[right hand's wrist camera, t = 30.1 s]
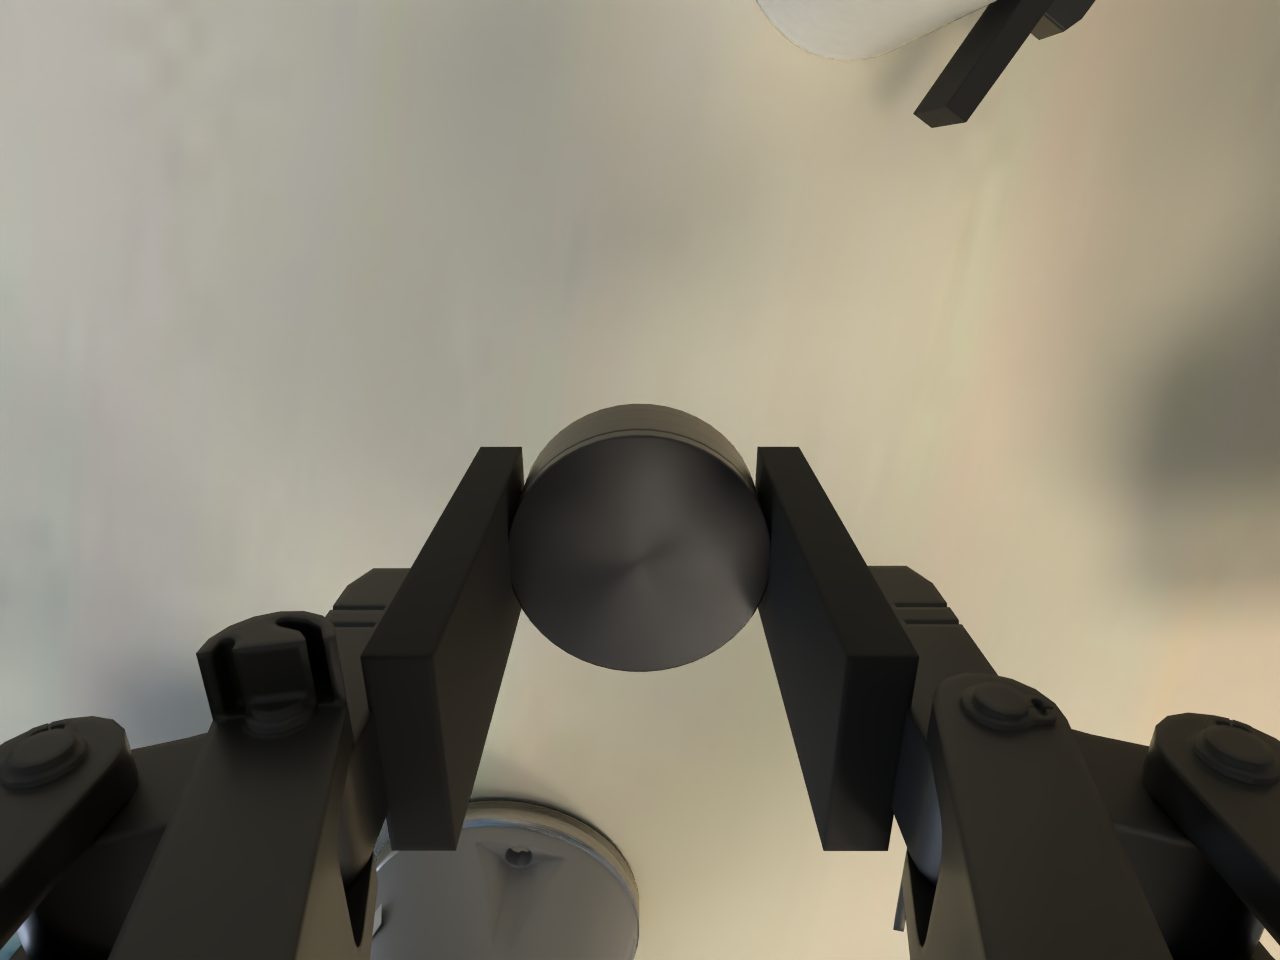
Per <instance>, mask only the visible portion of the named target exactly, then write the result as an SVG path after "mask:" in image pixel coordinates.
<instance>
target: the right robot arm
mask: <svg viewBox="0 0 1280 960" xmlns="http://www.w3.org/2000/svg"><path fill="white" fill-rule="evenodd" d="M523 488H524V475H523V458H522V447H480V449H479V451H478V452H477V454H476V456H475V458H474V459H473V461H472V463H471V465H470V466H469V468H468V470H467V472H466V473H465V475H464V477H463V478H462V480H461V482H460V484H459V485H458V487H457V489H456V491H455V492H454V494H453V496H452V498H451V499H450V501H449V503H448V505H447V506H446V508H445V510H444V511H443V513H442V515H441V517H440V518H439V520H438V522H437V524H436V525H435V527H434V529H433V531H432V532H431V534H430V536H429V538H428V539H427V541H426V543H425V544H424V546H423V548H422V550H421V551H420V553H419V555H418V557H417V558H416V560H415V562H414V564H413V565H412V567H411V568H373V569H372V570H370V571H369V572H367V573H366V574H364V575H363V576H361V577H360V578H358V579H357V580H355V581H354V582H352V583H351V584H349V585H348V586H347V587H346V588H345V590H344V591H343V593H342V594H341V595H340V597H339V598H338V600H337V601H336V603H335V604H334V605H333V610H330V611H329V612H328V614H327V615H326V617H324V616H322V615H318V614H314V613H310V612H305V611H280V612H275V613H270V614H265V615H260V616H255V617H252V618H249V619H247V620H244V621H242V622H239V623H236V624H234V625H231V626H229V627H227V628H226V629H224V630H222V631H221V632H219V633H218V634H216V635H214V636H213V637H211V638H210V639H208V640H207V642H206V643H205V644H204V645H203V646H202V647H201V648H200V650H199V651H198V652H197V653H196V655H197V659H198V663H199V667H200V671H201V675H202V679H203V682H204V686H205V690H206V694H207V698H208V702H209V706H210V710H211V714H212V717H213V722H212V724H211V727H210V729H209V731H208V733H204V734H201V735H197V736H193V737H190V738H185V739H180V740H176V741H171V742H166V743H161V744H157V745H152V746H147V747H142V748H137V749H133V750H131V748H130V745H129V742H128V739H127V736H126V732H125V729H124V728H123V727H121V726H120V725H119V724H118V723H117V722H115V721H114V720H112V719H106V718H101V717H95V716H89V717H80V718H70V719H64V720H59V721H55V722H51V723H50V724H48V723H47V724H44V725H41V726H38V727H35V728H33V729H31V730H29V731H27V732H25V733H23V734H21V735H19V736H17V737H15V738H13V739H10V740H8V741H6V742H4V743H3V744H1V745H0V960H633V959H634V956H635V953H636V949H637V946H638V938H639V898H638V891H637V886H636V883H635V879H634V877H633V875H632V872H631V870H630V868H629V867H628V865H627V863H626V861H625V860H624V859H623V857H622V856H621V855H620V853H619V852H618V851H617V850H616V849H615V848H614V846H613V845H612V844H611V843H610V842H609V841H607V840H606V839H605V838H604V837H603V836H602V835H600V834H599V833H598V832H596V831H595V830H594V829H592V828H591V827H589V826H587V825H586V824H584V823H582V822H581V821H579V820H577V819H575V818H573V817H571V816H569V815H566V814H564V813H561V812H558V811H556V810H553V809H549V808H546V807H543V806H538V805H534V804H529V803H522V802H515V801H501V800H499V801H476V802H469V800H470V797H471V793H472V789H473V786H474V782H475V778H476V774H477V771H478V767H479V763H480V760H481V756H482V752H483V749H484V745H485V741H486V737H487V734H488V730H489V726H490V723H491V719H492V715H493V711H494V708H495V704H496V700H497V697H498V693H499V689H500V686H501V682H502V678H503V674H504V671H505V667H506V663H507V660H508V656H509V652H510V649H511V645H512V641H513V637H514V634H515V630H516V626H517V623H518V619H519V615H520V611H521V608H522V607H521V606H520V604H519V602H518V600H517V598H516V596H515V593H514V590H513V588H512V582H511V568H510V555H509V539H508V533H509V529H510V525H511V521H512V518H513V515H514V512H515V510H516V507H517V504H518V502H519V499H520V496H521V493H522V491H523ZM755 488H756V491H757V494H758V496H759V499H760V502H761V505H762V508H763V510H764V513H765V516H766V519H767V521H768V524H769V529H770V534H771V548H770V563H769V576H768V585H767V588H766V591H765V593H764V596H763V598H762V600H761V602H760V604H759V606H758V610H759V613H760V617H761V621H762V624H763V628H764V632H765V636H766V639H767V643H768V647H769V650H770V654H771V658H772V661H773V665H774V669H775V673H776V676H777V680H778V684H779V687H780V691H781V695H782V698H783V702H784V706H785V710H786V713H787V717H788V721H789V724H790V728H791V732H792V736H793V739H794V743H795V747H796V750H797V754H798V758H799V761H800V765H801V769H802V773H803V776H804V780H805V784H806V787H807V791H808V795H809V799H810V802H811V806H812V810H813V813H814V817H815V821H816V824H817V828H818V832H819V836H820V839H821V843H822V847H823V850H824V851H888V847H889V841H890V834H891V828H892V822H893V816H894V815H895V818H896V820H897V823H898V825H899V828H900V830H901V833H902V835H903V838H904V841H905V843H906V846H907V852H906V857H905V863H904V869H903V875H902V880H901V886H900V892H899V897H898V903H897V909H896V915H895V922H894V929H893V930H898V931H903V932H904V926H905V921H906V924H907V933H908V942H909V952H910V960H1275V959H1274V958H1273V957H1272V956H1271V955H1270V954H1269V952H1268V951H1267V950H1266V949H1265V948H1264V946H1263V945H1262V944H1261V943H1260V941H1259V939H1260V937H1261V935H1262V933H1263V930H1264V928H1265V929H1266V930H1267V931H1268V932H1269V933H1270V935H1271V936H1272V937H1273V938H1274V939H1275V940H1276V942H1277V943H1278V944H1279V945H1280V741H1279V740H1277V739H1276V738H1274V737H1271V736H1269V735H1267V734H1265V733H1263V732H1261V731H1259V730H1257V729H1254V728H1252V727H1251V726H1249V725H1247V724H1244V723H1241V722H1238V721H1235V720H1233V721H1232V720H1229V718H1224V717H1219V716H1215V715H1206V714H1196V713H1183V714H1177V715H1171V716H1167V717H1166V718H1165V719H1163V720H1162V721H1161V722H1160V723H1158V724H1157V725H1156V727H1155V730H1154V733H1153V737H1152V740H1151V743H1150V746H1144V745H1140V744H1135V743H1130V742H1125V741H1120V740H1115V739H1111V738H1106V737H1101V736H1096V735H1091V734H1088V733H1084V732H1080V731H1077V730H1073V729H1071V727H1070V725H1069V723H1068V721H1067V719H1066V717H1065V716H1064V715H1063V713H1062V712H1061V711H1060V709H1059V708H1058V707H1057V705H1056V704H1055V703H1054V702H1052V701H1051V700H1050V699H1048V698H1047V697H1045V696H1044V695H1043V694H1041V693H1040V692H1039V691H1037V690H1036V689H1034V688H1031V687H1029V686H1027V685H1024V684H1022V683H1020V682H1018V681H1015V680H1013V679H1010V678H1005V677H1001V676H998V675H997V673H996V672H995V671H994V669H993V668H992V666H991V665H990V663H989V662H988V661H987V659H986V658H985V656H984V655H983V654H982V652H981V651H980V649H979V648H978V647H977V645H976V644H975V642H974V641H973V640H972V638H971V637H970V635H969V634H968V632H967V631H966V630H965V628H964V627H963V625H962V624H959V620H958V618H957V617H956V616H955V614H954V613H953V611H952V610H951V609H950V607H947V603H946V601H945V600H944V599H943V597H942V596H941V594H940V593H939V592H938V590H937V589H936V587H935V586H934V585H933V583H931V582H930V581H928V580H927V579H925V578H924V577H922V576H921V575H919V574H918V573H916V572H915V571H913V570H912V569H910V568H909V567H907V566H867V565H866V563H865V561H864V559H863V558H862V556H861V554H860V552H859V551H858V549H857V547H856V545H855V544H854V542H853V540H852V538H851V537H850V535H849V533H848V532H847V530H846V528H845V526H844V525H843V523H842V521H841V519H840V518H839V516H838V514H837V512H836V511H835V509H834V507H833V505H832V504H831V502H830V500H829V499H828V497H827V495H826V493H825V492H824V490H823V488H822V486H821V485H820V483H819V481H818V479H817V478H816V476H815V474H814V472H813V471H812V469H811V467H810V465H809V464H808V462H807V460H806V459H805V457H804V455H803V453H802V452H801V450H800V448H799V447H758V450H757V466H756V483H755ZM385 818H386V819H387V825H388V831H389V838H390V841H389V842H388V843H387V844H386V845H385V847H384V848H383V849H382V851H381V852H380V854H379V855H378V857H377V859H376V861H375V857H374V852H373V848H374V846H375V843H376V841H377V838H378V836H379V833H380V830H381V828H382V825H383V823H384V820H385Z"/></svg>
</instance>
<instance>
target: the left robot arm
mask: <svg viewBox="0 0 1280 960" xmlns="http://www.w3.org/2000/svg"><path fill="white" fill-rule="evenodd" d="M1094 1H1095V0H996V1H994V2H992V3H990V4H989V6H988V7H987V8H986V10H985V11H984V13H983V14H982V16H981V17H980V18H979V20H978V21H977V23H976V24H975V26H974V27H973V28H972V30H971V31H970V33H969V34H968V36H967V37H966V39H965V40H964V41H963V43H962V44H961V46H960V47H959V49H958V50H957V51H956V53H955V54H954V56H953V57H952V59H951V60H950V62H949V63H948V64H947V66H946V67H945V69H944V70H943V72H942V73H941V74H940V76H939V77H938V79H937V80H936V82H935V83H934V85H933V86H932V87H931V89H930V90H929V92H928V93H927V95H926V96H925V97H924V99H923V100H922V102H921V103H920V105H919V106H918V107H917V109H916V110H915V112H914V113H913V114H914V115H916V116H917V117H918V118H920V119H921V120H922V121H923V122H925V123H926V124H927V125H929V126H930V127H931V128H934V127H940V126H946V125H952V124H958V123H964V122H967V120H968V119H969V117H970V116H971V115H972V113H973V112H974V110H975V109H976V108H977V106H978V105H979V104H980V102H981V101H982V99H983V98H984V97H985V95H986V94H987V92H988V91H989V90H990V88H991V87H992V86H993V84H994V83H995V81H996V80H997V79H998V77H999V76H1000V74H1001V73H1002V72H1003V70H1004V69H1005V68H1006V66H1007V65H1008V63H1009V62H1010V61H1011V59H1012V58H1013V56H1014V55H1015V54H1016V52H1017V51H1018V50H1019V48H1020V47H1021V45H1022V44H1023V43H1024V41H1025V40H1026V38H1027V37H1028V36H1029V34H1030V33H1031V34H1033V35H1034V36H1035V37H1036V38H1037V39H1039V40H1040V39H1043V38H1046V37H1049V36H1052V35H1055V34H1058V33H1061V32H1064V31H1065V30H1067V29H1068V28H1069V27H1071V26H1072V25H1074V24H1075V23H1076V22H1078V21H1079V20H1081V19H1082V18H1083V16H1084V15H1085V14H1086V12H1087V11H1088V10H1089V8H1090V7H1091V6H1092V4H1093V3H1094Z"/></svg>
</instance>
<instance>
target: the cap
mask: <svg viewBox="0 0 1280 960" xmlns="http://www.w3.org/2000/svg"><path fill="white" fill-rule="evenodd" d="M508 539H509V555H510V568H511V582H512V588H513V590H514V593H515V596H516V598H517V600H518V602H519V604H520V606H521V607H522V609H523V611H524V612H525V614H526V615H527V617H528V618H529V619H530V621H531V622H532V623H533V625H534V626H535V627H536V628H537V629H538V630H539V631H540V632H541V633H542V634H543V635H544V636H545V637H546V638H548V639H549V640H550V641H551V642H552V643H553V644H555V645H556V646H558V647H559V648H561V649H562V650H564V651H565V652H567V653H569V654H571V655H573V656H575V657H577V658H579V659H581V660H583V661H586V662H588V663H591V664H594V665H597V666H601V667H605V668H609V669H613V670H621V671H631V672H648V671H659V670H665V669H670V668H675V667H679V666H682V665H685V664H688V663H691V662H694V661H696V660H698V659H700V658H703V657H705V656H707V655H709V654H710V653H712V652H714V651H715V650H717V649H719V648H720V647H722V646H723V645H724V644H725V643H727V642H728V641H729V640H731V639H732V638H733V637H734V636H735V635H736V634H737V633H738V632H739V631H740V630H741V629H742V628H743V627H744V626H745V625H746V623H747V622H748V621H749V619H750V618H751V617H752V616H753V614H754V613H755V611H756V609H757V607H758V606H759V604H760V602H761V600H762V598H763V596H764V593H765V591H766V588H767V585H768V576H769V563H770V548H771V534H770V529H769V524H768V521H767V519H766V516H765V513H764V510H763V508H762V505H761V502H760V499H759V496H758V494H757V491H756V488H755V485H754V483H753V480H752V477H751V474H750V472H749V470H748V468H747V466H746V464H745V462H744V460H743V458H742V457H741V455H740V454H739V453H738V451H737V450H736V449H735V447H734V446H733V445H732V444H731V443H730V442H729V441H728V440H727V439H726V438H725V437H724V436H723V435H722V434H721V433H720V432H719V431H717V430H716V429H715V428H713V427H712V426H711V425H709V424H708V423H706V422H704V421H702V420H701V419H699V418H697V417H695V416H693V415H691V414H688V413H686V412H683V411H681V410H677V409H673V408H670V407H666V406H659V405H652V404H628V405H619V406H614V407H610V408H605V409H601V410H599V411H596V412H594V413H591V414H588V415H586V416H584V417H582V418H580V419H578V420H577V421H575V422H573V423H571V424H570V425H569V426H567V427H566V428H565V429H563V430H562V431H560V432H559V433H558V434H557V435H556V436H555V437H554V438H553V439H552V440H551V441H550V442H549V443H548V444H547V445H546V447H545V448H544V449H543V450H542V452H541V453H540V454H539V456H538V457H537V459H536V461H535V463H534V464H533V466H532V468H531V470H530V473H529V475H528V478H527V480H526V483H525V485H524V488H523V491H522V493H521V496H520V499H519V502H518V504H517V507H516V510H515V512H514V515H513V518H512V521H511V525H510V529H509V533H508Z"/></svg>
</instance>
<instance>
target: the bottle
mask: <svg viewBox="0 0 1280 960" xmlns="http://www.w3.org/2000/svg"><path fill="white" fill-rule="evenodd" d="M757 1H758V3H759V5H760V6H761V8H762V10H763V12H764V13H765V15H766V16H767V17H768V19H769V20H770V21H771V23H772V24H773V25H774V26H775V27H776V28H777V29H778V30H779V31H780V32H781V33H782V35H784V36H785V37H786V38H787V39H789V40H790V41H791V42H793V43H794V44H795V45H797V46H799V47H801V48H802V49H804V50H806V51H808V52H810V53H813V54H816V55H818V56H821V57H825V58H830V59H834V60H848V61H852V60H863V59H868V58H873V57H877V56H881V55H883V54H886V53H888V52H891V51H894V50H896V49H898V48H900V47H902V46H904V45H906V44H908V43H910V42H912V41H914V40H916V39H918V38H920V37H922V36H924V35H927V34H929V33H931V32H933V31H935V30H937V29H939V28H941V27H943V26H945V25H947V24H949V23H951V22H953V21H955V20H957V19H959V18H962V17H964V16H966V15H968V14H970V13H972V12H974V11H976V10H978V9H980V8H982V7H984V6H986V5H988V4H990V3H992V2H994V1H996V0H757Z"/></svg>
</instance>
